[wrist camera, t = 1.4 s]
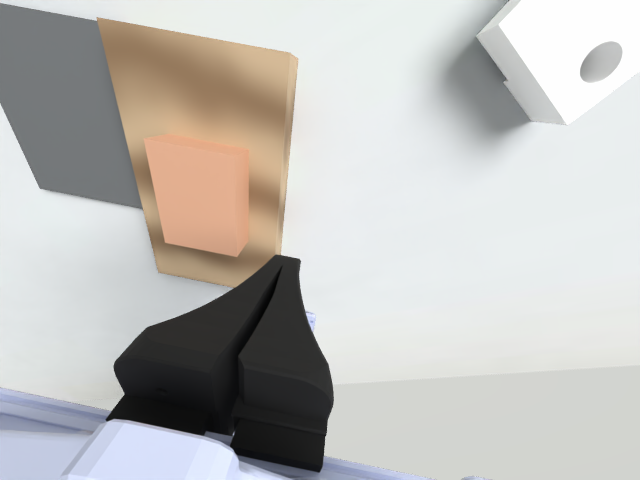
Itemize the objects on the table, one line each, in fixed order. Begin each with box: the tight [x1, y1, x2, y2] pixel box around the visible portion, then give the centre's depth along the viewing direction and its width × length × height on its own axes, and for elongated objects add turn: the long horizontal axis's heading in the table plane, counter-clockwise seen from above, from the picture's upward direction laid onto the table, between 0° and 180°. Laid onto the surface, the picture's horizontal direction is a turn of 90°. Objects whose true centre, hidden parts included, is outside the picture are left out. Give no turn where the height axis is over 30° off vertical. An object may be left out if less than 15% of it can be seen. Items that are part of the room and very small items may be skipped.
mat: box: [0, 3, 143, 209], centre depth 20 cm, size 14×12×1 cm
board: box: [97, 17, 298, 288], centre depth 21 cm, size 20×12×2 cm, turn 171°
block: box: [144, 134, 249, 257], centre depth 19 cm, size 8×6×2 cm
